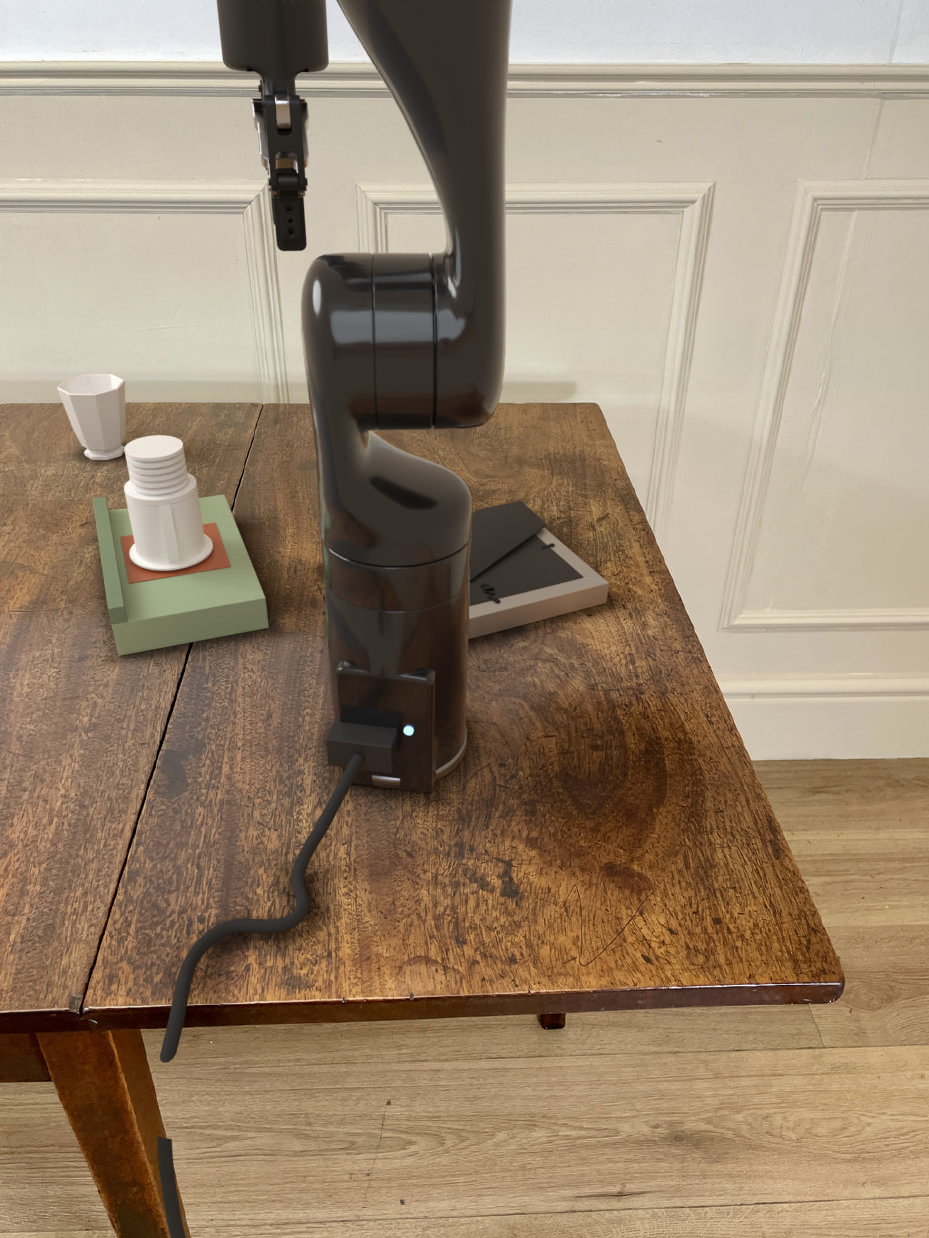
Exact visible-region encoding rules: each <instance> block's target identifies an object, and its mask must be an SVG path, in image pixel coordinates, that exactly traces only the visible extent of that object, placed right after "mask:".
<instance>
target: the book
mask: <svg viewBox="0 0 929 1238" xmlns="http://www.w3.org/2000/svg"><path fill="white" fill-rule="evenodd" d="M199 504H200V510H201V517H202V524H203V531H204V534H205V535H207V536H208V537H209V538H210V539H211V540H212V543H213V549H212V552H211V553H210V555H209V556H208V557H207V558H205V559H204V560H202V561H201V562H199V563H197V564H195V565H192V566H189V567H186V568H182V569H177V570H168V571H158V570H150V569H145V568H142V567H140V566H138V565H136V564H134V563H133V562H132V560H131V559H130V555H129V552H130V549H131V547H132V546H133V544H134V543H135V542H134V537H133V532H132V527H131V522H130V517H129V512H128V507H126V508H125V507H123V508H120V509H112V510H111V509H110V510H109V505H108V500H107V496H99V497H98V496H97V497H92V505H93V512H94V520H95V526H96V533H97V540H98V548H99V554H100V563H101V568H102V576H103V585H104V590H105V597H106V604H107V611H108V615H109V621H110V624H111V628H112V633H113V637H114V643H115V647H116V652H117V656H118V657H121V656H125V655H131V654H136V653H141V652H142V653H143V652H147V651H152V650H157V649H162V648H168V647H174V646H179V645H184V644H189V643H196V642H199V641H205V640H211V639H217V638H222V637H226V636H232V635H237V634H238V635H239V634H244V633H248V632H253V631H254V632H255V631H259V630H264V629H268V628H270V627H269V617H268V607H267V600H266V599H267V598H266V596H265V592H264V590H263V588H262V586H261V582H260V581H259V578H258V576H257V573H256V571H255V568H254V565H253V563H252V561H251V558H250V556H249V552H248V550H247V548H246V545H245V543H244V541H243V538H242V535H241V533H240V530H239V527H238V526H237V523H236V520H235V518H234V515H233V512H232V509H231V508H230V505H229V502H228V500H227V497H226V494H216V495H210V496H204V497H203V496H202V497H199Z"/></svg>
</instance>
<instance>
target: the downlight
mask: <svg viewBox="0 0 929 1238" xmlns="http://www.w3.org/2000/svg"><path fill="white" fill-rule="evenodd" d="M124 447H125V448H124V450H125V451H124V455H125V460H126V466H127V469H128V470H127V472H128V475H129V476H128V477H129V480H128V481H127V482H125V483H124V486H123V491H124V497H125V501H126V506H127V507H126V508H128V512H129V517H130V522H131V527H132V532H133V537H134V542H135V543H134V544H133V546H132V547H131V549H130V552H129V555H130V559H131V560H132V562H133V563H134V564H136V565H138V566H140V567H142V568H145V569H150V570H158V571H168V570H177V569H182V568H186V567H189V566H192V565H195V564H197V563H199V562H201V561H202V560H204V559H205V558H207V557H208V556H209V555H210V553H211V552H212V549H213V543H212V540H211V539H210V538H209V537H208V536H207V535H205V534H204V531H203V524H202V517H201V510H200V504H199V498H200V497H199V491H198V484H197V483H198V482H197V478H196V477H195V476H194V475H192V474H191V473H189V472H188V468H187V462H186V456H185V450H184V449H185V448H184V443H183V441H182V440H181V439H180V438H178V437H175V436H172V435H162V434H161V435H159V434H158V435H157V434H156V435H155V434H154V435H147V436H142V437H139V438H136V439H133V440H131V441H129V442H127V444H126V445H125V446H124Z"/></svg>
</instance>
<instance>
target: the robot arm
mask: <svg viewBox="0 0 929 1238" xmlns="http://www.w3.org/2000/svg"><path fill="white" fill-rule="evenodd" d="M335 1H336V3H337V5H338V6H339V8H340V10H341V12H342V14H343V15H344V17H345V19H346V21H347V24H349V26H350V28H351V30H352V32H353V33H354V34H355V36H356V38H357V40H358V41H359V43H360V45H361V46H362V48H363V50H364V51H365V53H366V55H367V57H368V58H369V60H370V62H371V64H372V65H373V67H374V68H375V70H376V71H377V73H378V75H379V77H380V78H381V80H382V82H383V83H384V85H385V87H386V89H387V90H388V92H389V93H390V95H391V97H392V99H393V101H394V103H395V105H396V107H397V108H398V110H399V113H400V114H401V116H402V118H403V120H404V123H405V125H406V126H407V128H408V131H409V132H410V135H411V137H412V139H413V142H414V144H415V145H416V148H417V150H418V152H419V155H420V157H421V159H422V160H423V163H424V166H425V168H426V171H427V173H428V175H429V178H430V180H431V183H432V186H433V188H434V192H435V195H436V199H437V201H438V204H439V207H440V210H441V215H442V219H443V223H444V230H445V248H444V250H443V251H442V252H431V253H429V252H331V253H324V254H321V255H318V257H316V258H315V259H314V260H313V261H312V262H311V263H310V265H309V267H308V268H307V270H306V273H305V276H304V280H303V284H302V288H301V295H300V335H301V345H302V356H303V366H304V373H305V374H304V375H305V381H306V387H307V395H308V402H309V411H310V417H311V424H312V425H311V426H312V434H313V442H314V452H315V460H316V461H315V463H316V464H315V465H316V476H317V477H316V478H317V490H318V491H317V492H318V509H319V510H318V513H319V529H320V530H319V532H320V540H321V541H320V542H321V543H320V544H321V558H322V557H323V561H322V571H323V586H324V587H323V588H324V589H323V590H324V604H325V617H326V618H325V620H326V635H327V649H328V650H327V651H328V664H329V665H328V666H329V679H330V680H329V681H330V694H331V695H330V697H331V707H332V719H333V721H332V724H331V727H330V728H329V731H328V734H327V736H326V739H325V742H326V743H325V745H326V757H327V759H326V760H327V766H329V767H336V768H337V767H338V768H341V777H340V778H339V781H338V782H337V784H336V786H335V788H334V790H333V792H332V794H331V796H330V798H329V799H328V801H327V803H326V805H325V807H324V809H323V810H322V813H321V815H320V816H319V818H318V820H317V822H316V823H315V825H314V827H313V829H312V830H311V832H310V833H309V835H308V836H307V838H306V840H305V841H304V843H303V845H302V846H301V849H300V851H299V852H298V855H297V857H296V859H295V862H294V864H293V867H292V870H291V871H292V872H291V878H290V879H291V880H290V881H291V887H292V892H293V895H294V899H295V902H296V906H295V909H293V911H291V912H290V913H289V914H287V915H285V916H283V917H278V918H271V919H270V918H235V919H233V918H232V919H227V920H225V921H222V922H220V923H218V924H216V925H214V926H213V927H211V928H209V929H208V930H207V931H206V932H205V933H203V935H201V937H199V938H198V939H197V940H196V942H195V943H193V944H192V946H191V948H190V949H189V950H188V952H187V954H186V956H185V957H184V959H183V961H182V963H181V966H180V968H179V971H178V974H177V977H176V981H175V987H174V991H173V996H172V1002H171V1006H170V1010H169V1011H170V1012H169V1015H168V1016H169V1017H168V1020H167V1025H166V1028H165V1033H164V1036H163V1040H162V1045H161V1049H160V1054H159V1061H160V1062H162V1064H164V1063H165V1064H166V1063H169V1062H171V1061H173V1059H174V1058H175V1056H176V1055H177V1052H178V1047H179V1044H180V1039H181V1035H182V1032H183V1027H184V1024H185V1019H186V1013H187V1008H188V1003H189V999H190V998H189V996H190V993H191V987H192V981H193V978H194V974H195V972H196V968H197V966H198V964H199V962H200V960H201V959H202V958H203V956H204V955H205V953H207V951H209V949H210V948H211V947H213V946H214V945H215V944H216V943H217V942H218V941H220V940H221V939H223V938H224V937H228V936H230V935H234V934H261V935H262V934H265V935H266V934H269V935H270V934H279V933H284V932H288V931H290V930H292V929H294V928H296V927H297V926H298V925H300V924H301V923H302V922H303V921H304V920H305V918H307V915H308V913H309V911H310V908H311V901H310V895H309V893H308V889H307V887H306V883H305V881H306V880H305V876H306V872H307V869H308V866H309V864H310V861H311V859H312V857H313V855H314V853H315V851H316V850H317V848H318V846H319V845H320V843H321V842H322V840H323V839H324V837H325V835H326V833H327V832H328V830H329V829H330V826H331V825H332V823H333V821H334V819H335V817H336V815H337V813H338V811H339V810H340V808H341V805H342V804H343V801H344V800H345V798H346V796H347V794H348V792H349V790H350V788H351V787H352V784H357V785H363V786H370V787H371V786H372V787H378V788H385V789H394V790H404V791H412V792H419V793H426V794H427V793H428V794H429V793H432V792H433V790H434V786H435V784H436V782H437V781H439V780H441V779H443V778H445V777H446V776H447V775H449V774H451V773H452V772H453V771H454V770H455V769H456V768H457V767H458V766H459V765H460V763H461V762H462V761H463V759H464V757H465V754H466V751H467V745H468V729H467V706H468V705H467V704H468V701H467V698H468V667H469V666H468V665H469V664H468V663H469V639H468V635H469V603H470V574H471V547H472V524H473V513H474V504H473V497H472V494H471V490H470V488H469V487H468V485H467V483H466V482H465V481H464V480H463V478H461V477H460V476H459V475H458V474H457V473H456V472H454V471H452V470H451V469H449V468H447V467H446V466H444V465H441V464H439V463H438V462H434V461H432V460H429V459H426V458H423V457H420V456H418V455H415V454H412V453H410V452H407V451H405V450H402V449H400V448H398V447H396V446H394V445H393V444H392V443H391V444H390V442H388V441H386V440H385V439H383V438H382V437H380V436H379V435H378V434H377V433H376V432H375V431H431V430H433V431H451V430H452V431H454V430H455V431H456V430H469V429H475V428H480V427H482V426H485V424H487V423H488V422H489V421H490V420H492V418H493V417H494V415H495V413H496V411H497V408H498V405H499V403H500V399H501V395H502V390H503V386H504V385H503V384H504V378H505V370H506V368H505V367H506V353H507V231H506V230H507V229H506V228H507V227H506V225H507V222H506V219H507V216H506V215H507V213H506V209H507V208H506V206H507V205H506V203H507V201H506V195H507V194H506V143H507V142H506V138H507V137H506V136H507V134H506V133H507V131H506V130H507V104H508V103H507V102H508V78H509V62H510V46H511V33H512V32H511V31H512V30H511V29H512V19H513V18H512V17H513V2H514V0H335ZM216 8H217V19H218V26H219V28H218V29H219V38H220V48H221V58H222V62H223V65H224V66H225V67H226V68H228V69H229V70H232V71H237V72H245V73H252V72H253V73H256V74H258V75H259V76H260V79H259V84H258V85H257V86H258V87H257V89H258V93H260V97H251V105H252V117H253V125H254V129H255V130H256V131H257V136H258V137H257V138H258V148H259V153H260V163H261V166H262V167H263V168H265V171H267V176H269V177H268V178H267V181H268V192H270V201H271V213H272V222H273V225H274V228H275V229H274V230H275V241H276V247H277V249H278V250H279V251H281V252H302V251H304V250H306V248H307V245H308V244H307V243H308V242H307V229H306V228H307V227H306V212H305V211H306V210H305V199H304V197H306V192H307V191H308V186H309V183H308V182H309V181H308V177H306V168H307V167H309V163H310V162H309V155H310V153H309V143H308V132H307V131H308V129H309V124H310V123H309V121H310V119H309V117H310V116H309V105H308V104H309V103H308V101H306V97H301V96H300V94H297V90H296V88H297V87H296V78H297V76H298V75H299V74H301V73H306V74H308V73H318V72H322V71H324V70H326V69H328V66H329V63H330V56H329V36H328V15H327V14H328V13H327V0H216ZM156 1145H157V1147H156V1148H157V1160H158V1171H159V1179H160V1186H161V1193H162V1200H163V1205H164V1211H165V1212H164V1213H165V1216H166V1222H167V1228H168V1232H169V1235H170V1238H187V1237H186V1232H185V1228H184V1227H185V1226H184V1223H183V1219H182V1213H181V1209H180V1208H181V1206H180V1202H179V1196H178V1189H177V1183H176V1174H175V1173H176V1172H175V1166H174V1153H173V1151H174V1150H173V1139H172V1138H168V1137H163V1136H156Z"/></svg>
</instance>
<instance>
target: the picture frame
mask: <svg viewBox="0 0 929 1238" xmlns="http://www.w3.org/2000/svg"><path fill="white" fill-rule="evenodd" d="M545 527H547V523H546V521H545V520H543V519H542V518H541V517H540V516H539V515H538V514H536V512H534V511H533V510H532V509H531V508H530V507H529V506H528V505H527V504H526V503H525V502H523V501H522V500H517V501H511V502H508V503H503V504H497V505H493V506H488V507H483V508H478V509H475V510H474V511H473V524H472V547H471V574H470V603H469V635H468V640H472V639H475V638H479V637H483V636H486V635H491V634H495V633H498V632H501V631H505V630H509V629H513V628H516V627H521V626H525V625H528V624H532V623H535V622H539V621H543V620H548V619H551V618H555V617H558V616H562V615H566V614H570V613H573V612H574V613H575V612H577V611H578V612H579V611H581V610H584V609H589V608H593V607H596V606H600V605H603V604H607V603H608V602H607V601H608V594H609V587H610V586H609V585H610V582H608V581H607V580H606V579H605V578H604V577H603V576H601V575H600V574H599V573H598V572H597V571H596V570H595V569H593V568H592V567H591V566H589V564H587V562H585V561H584V560H583V559H581V557H580V556H578V555H577V554H576V553H574V552H573V550H571V549H570V548H569V547H567V545H565V544H564V543H563V542H562V541H560V540H559V539H558V538H557V537H556V536H555V535H554V534H553V533H551V532H550V531H549V530H548V529H547V528H545ZM321 559H322V562H323V557H322V556H321Z"/></svg>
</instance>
